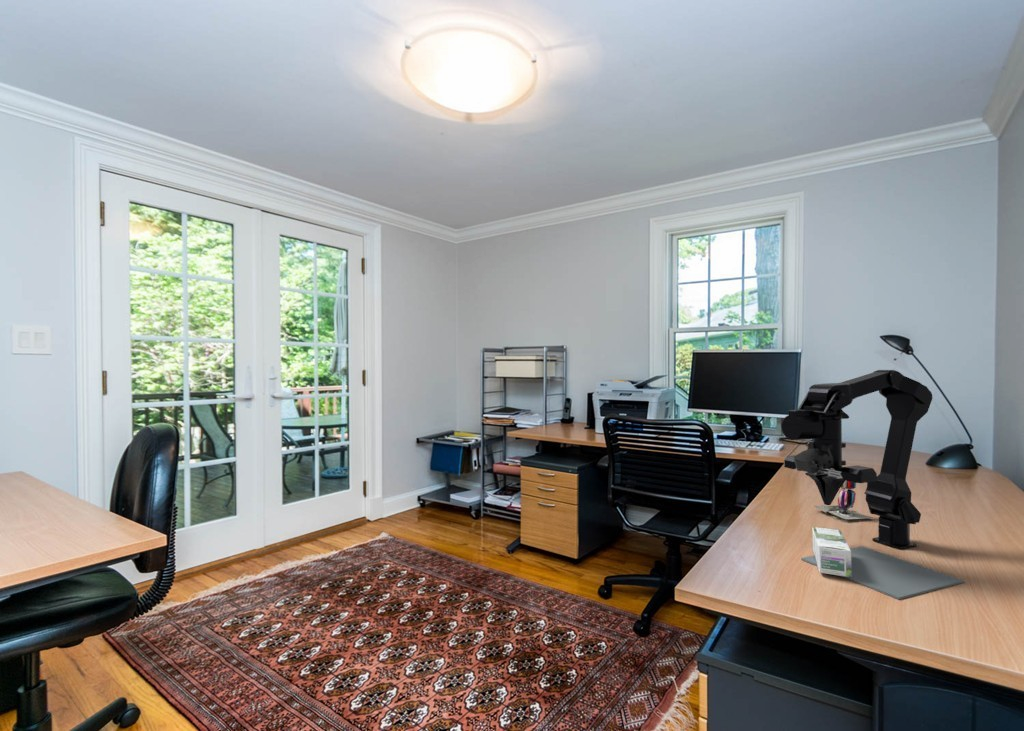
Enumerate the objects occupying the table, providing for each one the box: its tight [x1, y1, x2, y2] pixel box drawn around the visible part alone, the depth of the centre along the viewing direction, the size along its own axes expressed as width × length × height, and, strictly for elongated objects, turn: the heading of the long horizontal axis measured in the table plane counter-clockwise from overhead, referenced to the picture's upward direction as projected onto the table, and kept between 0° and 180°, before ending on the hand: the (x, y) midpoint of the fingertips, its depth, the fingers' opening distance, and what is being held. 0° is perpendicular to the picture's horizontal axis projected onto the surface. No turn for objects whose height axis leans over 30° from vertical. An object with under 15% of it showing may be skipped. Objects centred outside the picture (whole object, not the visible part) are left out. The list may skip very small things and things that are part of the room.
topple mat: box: [800, 545, 965, 600], centre depth 103 cm, size 20×20×1 cm
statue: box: [814, 481, 873, 523], centre depth 140 cm, size 11×9×15 cm
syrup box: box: [811, 526, 852, 577], centre depth 105 cm, size 6×6×14 cm
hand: (827, 504), depth 113 cm, fingers closed
